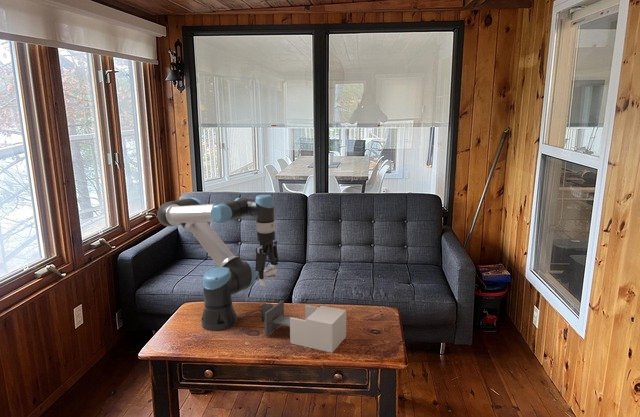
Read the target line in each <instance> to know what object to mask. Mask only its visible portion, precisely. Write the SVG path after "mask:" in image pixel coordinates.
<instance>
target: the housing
mask: <svg viewBox="0 0 640 417" xmlns="http://www.w3.org/2000/svg"><path fill="white" fill-rule="evenodd" d="M304 312H305V314H304V318H305V319H302V318H297V317H292V316H290V317H291V318H290V326H289V336H290V337H289V339H290V340H289V341H290V344H293V345H296V346H300V347H305V348H311V349H314V350H317V351H323V352H327V353H332V354H333V353H334V352H335V350H336V349H337V348H339V346H340V344H342V342H343V341H344V340H345V339H346V337H347V309H342V308H337V307H331V306H326V305H320V306H319V307H318V306H314V305H309V304H306V305H305V306H304Z"/></svg>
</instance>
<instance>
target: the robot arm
mask: <svg viewBox="0 0 640 417" xmlns="http://www.w3.org/2000/svg"><path fill="white" fill-rule="evenodd" d="M274 202H275V201H274V196H273V195H271V194H258V195H256V196H255V198H247V197H237V198H235V199H234V200H232V201H228V202H219V203H207V204H204V203H203V202H202V201H201V200H200V199H199V198H196V197H185V198H182V199H177V200H171V201H167V202H164V203H163V204H161V205H160V206H159V207H158V210H157V212H156V217H157V219H158V222H159V223H160V224H161V225H163V226H165V227H176V226H180V225H181V227H182V228H183V230H185V231H187V232H191V234H192V235H193V236H194V237H195V239H196V240H197V241H198V242H199V244H200V245H201V246H202V247H203V249H204V250H205V251H206V253H207V254H208V255H209V257H210V258H211V259H212V260H213V262H214V263H215V264H216V265H217V267H214V268H211V269H209V270H207V271H206V272H205V273H204V274H203V277H202V279H203V280H202V287H203V288H202V289H203V299H204V309H203V313H202V316H201V327H202V328H203V329H206V330H208V331H209V330H210V331H222V330H227V329H230V328H232V327H234V326H235V325H236V324H237V322H238V315H237V313H236V311H235V308H234V306H233V305H234V304H233V295H235V294H238V293H239V292H241V291H244V290H247V289H249V287H251V286H253V285H254V284H255V283H256V279H257V278H256V277H257V276H256V275H257V272H259V275H258V279H259V286H261V287H267V281H266V280H267V277H266V273H265V271H264V269H265V267H266V262H267V258H268V259H269V263H270V264H269V267H275V268H277V267H276V266H278V265H279V261H280V260H279V253H278V252H279V251H278V241H276V232H275V230H276V228H275V227H276V225H275V224H276V223H275V203H274ZM245 217H254V218H256V231H257V233H256V235H257V237H256V238H257V241H258V242H259V247H256V248H255V266H254V264H252V262H250V261H246V260H244V261H243V259H242V258H241V257H240V256H237V255H234V254H233V253H232V251H231V250H230V249H229V247H228V246H227V245H226V244H225V242H224V241H223V240H222V239H221V238H220V236H219V235H218V234H217V233H216V231H215V230H214V229H213V228H212V226H211V225H210V224H209V223H215V224H216V223H217V224H224V223H228V222H231V221H234V220H237V219H242V218H245ZM269 279H270V280H271V281H272V280H273V281H277V275H275V276H273V277H269Z"/></svg>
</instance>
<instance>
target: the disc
mask: <svg viewBox="0 0 640 417" xmlns="http://www.w3.org/2000/svg"><path fill="white" fill-rule="evenodd" d="M264 271H265V273H266V278H270V277H273V276H275V275H276V276H277V275H278V268H277V267H276V268H275V267H270V266H265V269H264ZM257 272H258V271H257ZM258 276H259V272H258Z"/></svg>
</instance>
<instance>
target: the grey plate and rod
mask: <svg viewBox="0 0 640 417" xmlns="http://www.w3.org/2000/svg"><path fill="white" fill-rule="evenodd" d="M291 317H292V316H286V315H285V302H284V300H280V301H279V302H277V304H275V305H273V307H272V308H271V309H269V310H268V311H267V312H265V321H264V336H265V337H268V336H270V335H271V334H272V333H273V332H275V331H276V330H277V329H278V328H279V327H281V326H287V327H290V318H291Z"/></svg>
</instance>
